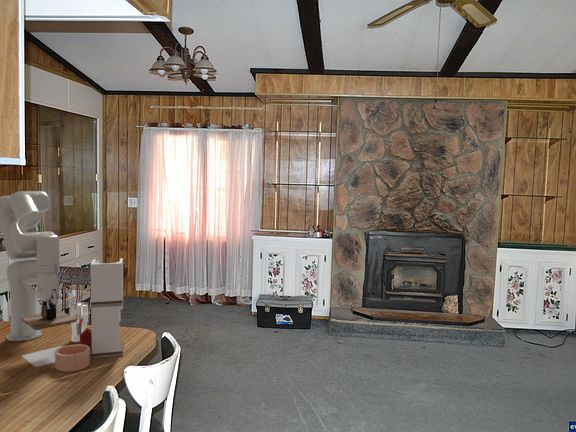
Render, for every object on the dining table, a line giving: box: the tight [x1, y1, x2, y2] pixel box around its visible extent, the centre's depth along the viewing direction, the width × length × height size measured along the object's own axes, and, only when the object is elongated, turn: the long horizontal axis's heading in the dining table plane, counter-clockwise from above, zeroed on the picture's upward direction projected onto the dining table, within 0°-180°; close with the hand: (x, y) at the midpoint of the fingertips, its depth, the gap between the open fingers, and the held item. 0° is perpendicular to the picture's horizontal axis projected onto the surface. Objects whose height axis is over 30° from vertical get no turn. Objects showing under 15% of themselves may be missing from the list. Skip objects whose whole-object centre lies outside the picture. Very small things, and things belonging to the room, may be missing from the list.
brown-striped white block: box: [90, 257, 125, 359], centre depth 177 cm, size 11×11×35 cm
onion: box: [79, 326, 92, 348], centre depth 183 cm, size 6×6×8 cm
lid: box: [21, 305, 76, 331], centre depth 172 cm, size 14×14×6 cm
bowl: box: [54, 343, 91, 373], centre depth 164 cm, size 11×11×6 cm
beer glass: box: [69, 301, 89, 343], centre depth 190 cm, size 7×7×15 cm
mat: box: [21, 345, 64, 368], centre depth 173 cm, size 15×15×1 cm
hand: (48, 317), depth 172 cm, fingers closed on lid, 4 cm apart
